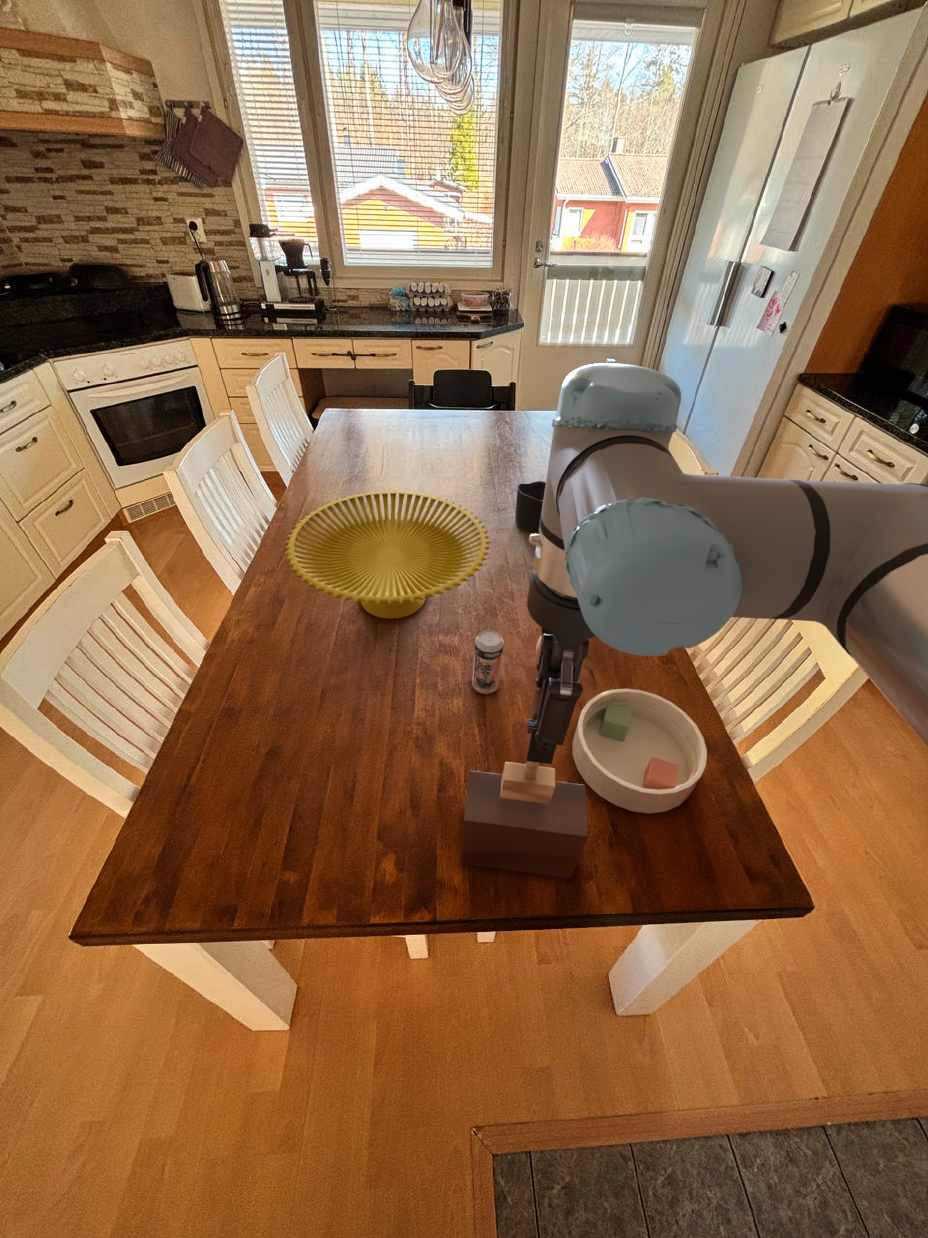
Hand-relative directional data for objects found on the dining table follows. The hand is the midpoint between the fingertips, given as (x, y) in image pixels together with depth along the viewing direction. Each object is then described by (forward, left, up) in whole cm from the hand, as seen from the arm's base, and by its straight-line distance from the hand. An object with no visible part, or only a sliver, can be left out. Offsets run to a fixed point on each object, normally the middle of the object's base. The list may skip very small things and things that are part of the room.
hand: (539, 744), depth 58 cm
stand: (0, 0, -24) cm, 24 cm away
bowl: (+17, -18, -24) cm, 34 cm away
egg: (+36, -5, -24) cm, 44 cm away
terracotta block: (+12, -21, -23) cm, 34 cm away
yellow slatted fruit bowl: (+51, +29, -24) cm, 63 cm away
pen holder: (+87, 0, -24) cm, 90 cm away
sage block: (+22, -15, -23) cm, 36 cm away
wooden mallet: (0, 0, -10) cm, 10 cm away
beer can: (+29, +7, -24) cm, 38 cm away
